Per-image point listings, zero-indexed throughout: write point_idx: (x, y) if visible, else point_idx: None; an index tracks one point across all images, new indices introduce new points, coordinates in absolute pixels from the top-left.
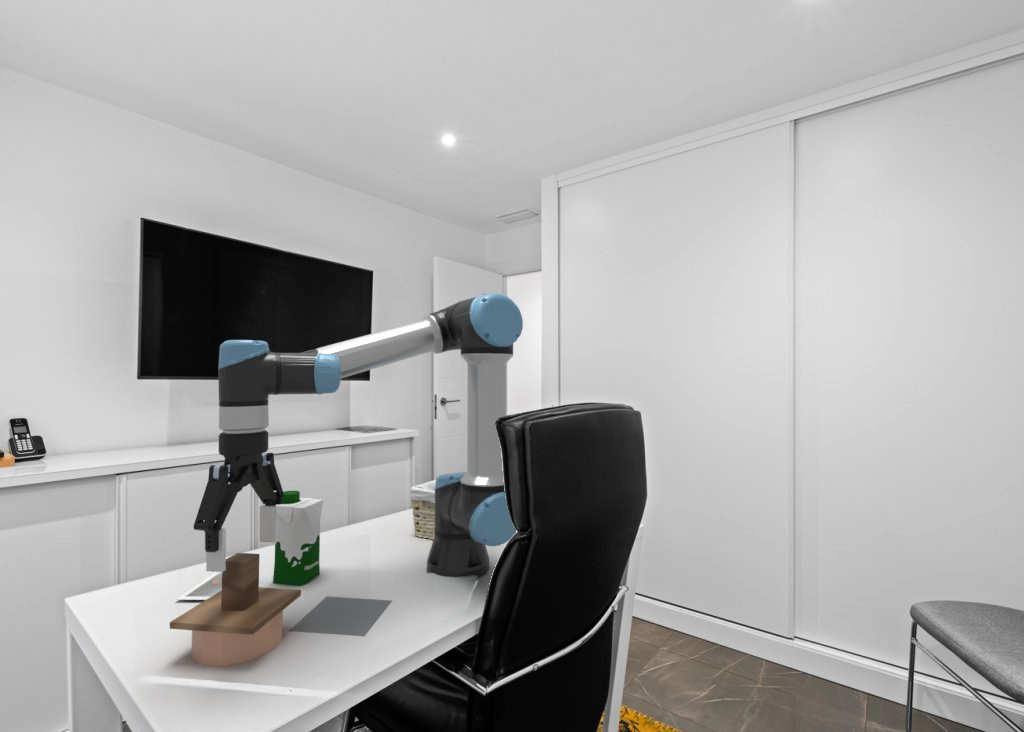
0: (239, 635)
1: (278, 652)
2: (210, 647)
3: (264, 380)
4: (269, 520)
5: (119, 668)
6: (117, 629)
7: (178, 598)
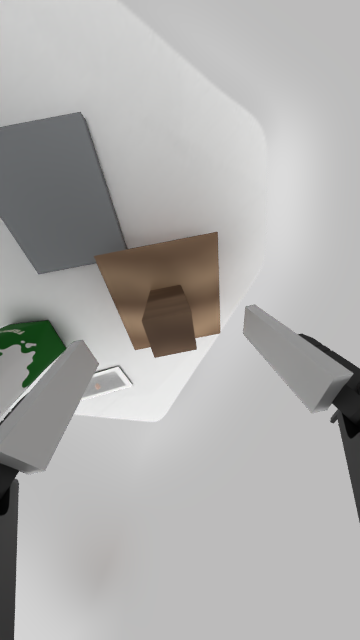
0: None
1: (158, 242)
2: None
3: None
4: (54, 395)
5: (212, 341)
6: (175, 380)
7: (131, 385)
